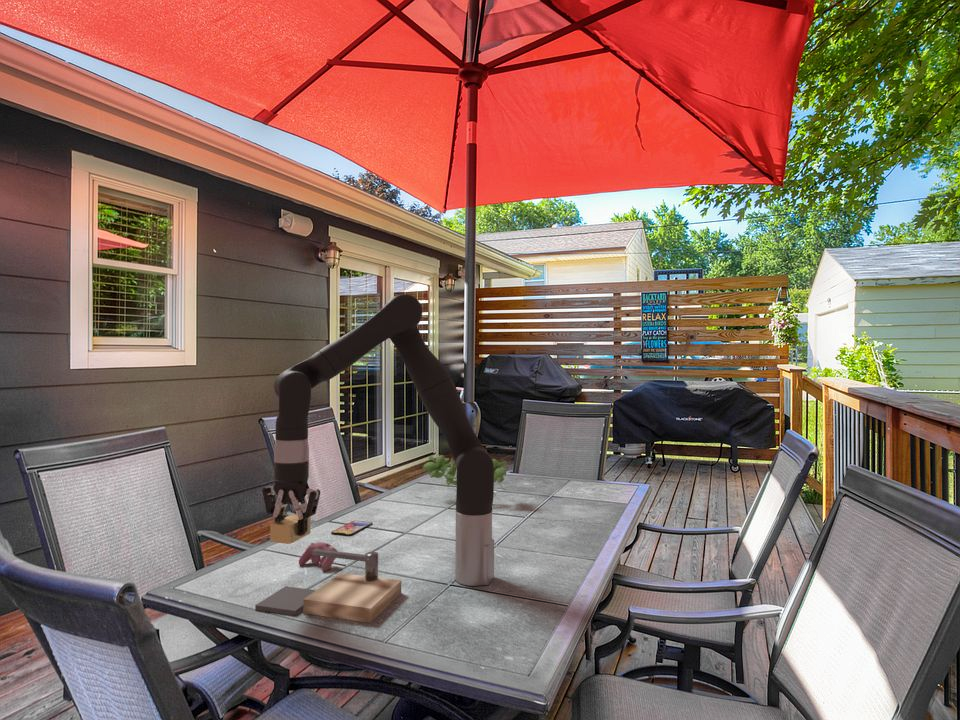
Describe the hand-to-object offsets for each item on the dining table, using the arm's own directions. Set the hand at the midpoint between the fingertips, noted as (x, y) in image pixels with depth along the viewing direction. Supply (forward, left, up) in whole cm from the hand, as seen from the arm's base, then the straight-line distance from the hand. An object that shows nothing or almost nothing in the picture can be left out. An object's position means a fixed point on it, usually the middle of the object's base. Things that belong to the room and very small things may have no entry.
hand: (290, 533), depth 128 cm
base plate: (-14, -4, -16) cm, 21 cm away
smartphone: (+14, -55, -16) cm, 59 cm away
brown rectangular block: (0, 0, -1) cm, 1 cm away
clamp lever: (-8, -11, -12) cm, 18 cm away
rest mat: (0, 0, -16) cm, 16 cm away
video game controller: (+6, -22, -16) cm, 28 cm away
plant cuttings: (-11, -104, -16) cm, 105 cm away
